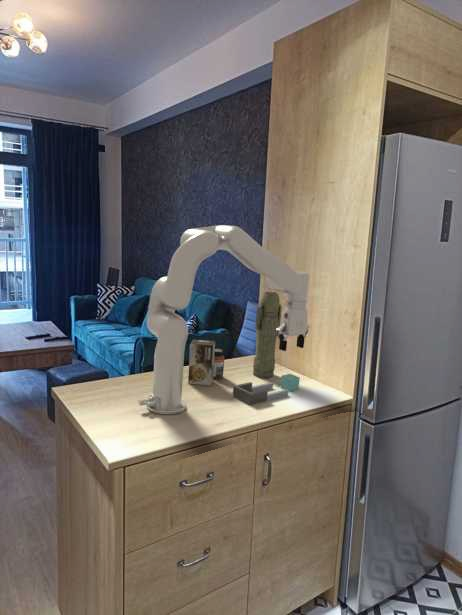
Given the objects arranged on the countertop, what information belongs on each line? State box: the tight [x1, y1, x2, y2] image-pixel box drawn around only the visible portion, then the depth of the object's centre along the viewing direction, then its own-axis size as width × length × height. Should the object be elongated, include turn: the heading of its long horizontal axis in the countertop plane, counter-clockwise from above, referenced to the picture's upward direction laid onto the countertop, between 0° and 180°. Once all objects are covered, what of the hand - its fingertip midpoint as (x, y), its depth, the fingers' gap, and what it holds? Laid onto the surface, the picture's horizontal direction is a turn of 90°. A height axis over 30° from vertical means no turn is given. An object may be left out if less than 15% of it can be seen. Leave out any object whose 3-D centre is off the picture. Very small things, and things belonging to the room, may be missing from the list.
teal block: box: [279, 373, 301, 393], centre depth 176 cm, size 5×5×5 cm
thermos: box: [252, 291, 282, 379], centre depth 187 cm, size 9×12×35 cm
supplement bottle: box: [213, 348, 225, 380], centre depth 181 cm, size 6×6×11 cm
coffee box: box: [187, 339, 216, 387], centre depth 174 cm, size 9×6×16 cm
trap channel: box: [232, 381, 289, 406], centre depth 166 cm, size 19×9×4 cm, turn 130°
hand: (291, 348), depth 172 cm, fingers open, 9 cm apart
